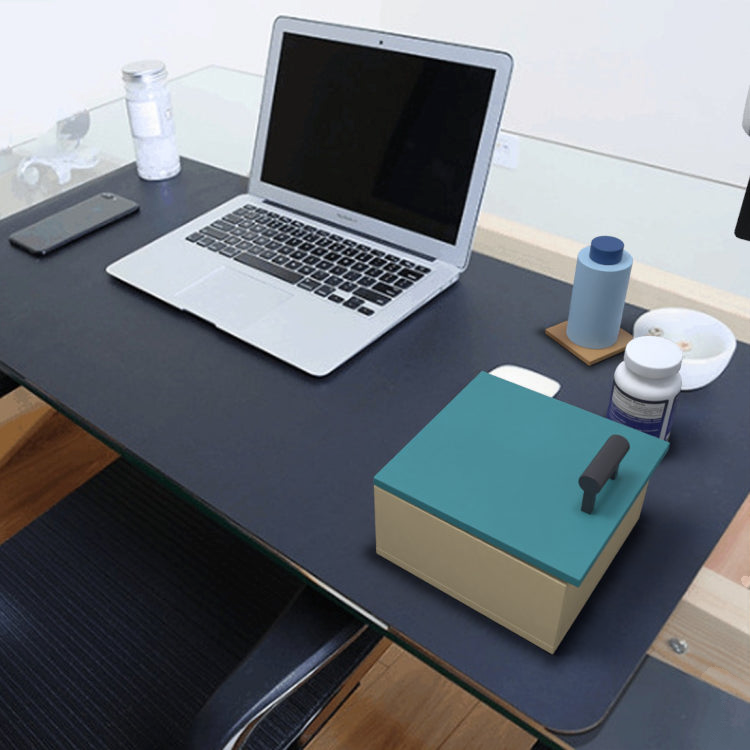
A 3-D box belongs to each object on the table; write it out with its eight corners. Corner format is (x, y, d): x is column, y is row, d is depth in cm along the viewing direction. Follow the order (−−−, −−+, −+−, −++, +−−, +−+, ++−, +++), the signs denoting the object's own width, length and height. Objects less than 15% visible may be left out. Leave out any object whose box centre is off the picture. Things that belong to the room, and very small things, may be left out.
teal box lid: (668, 450, 60) (679, 405, 58) (578, 588, 51) (586, 542, 48) (481, 377, 69) (483, 335, 66) (373, 484, 59) (370, 440, 56)
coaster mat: (638, 344, 85) (639, 340, 85) (589, 366, 82) (590, 361, 82) (592, 314, 90) (593, 309, 89) (544, 333, 87) (545, 328, 87)
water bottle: (628, 339, 85) (647, 246, 78) (590, 355, 83) (606, 262, 76) (593, 315, 88) (608, 225, 82) (555, 330, 86) (568, 239, 80)
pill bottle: (631, 409, 77) (651, 324, 71) (680, 441, 73) (705, 355, 67) (589, 432, 74) (605, 346, 68) (637, 467, 71) (659, 380, 64)
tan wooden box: (638, 518, 66) (657, 450, 61) (552, 655, 56) (566, 586, 51) (476, 444, 73) (481, 378, 69) (375, 553, 64) (373, 485, 59)
